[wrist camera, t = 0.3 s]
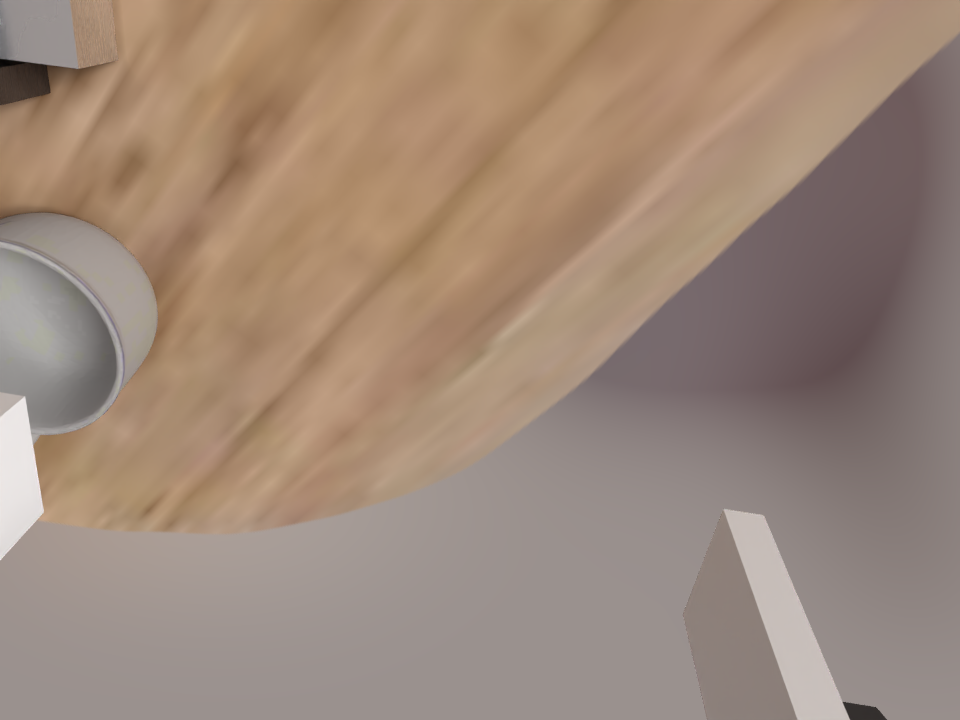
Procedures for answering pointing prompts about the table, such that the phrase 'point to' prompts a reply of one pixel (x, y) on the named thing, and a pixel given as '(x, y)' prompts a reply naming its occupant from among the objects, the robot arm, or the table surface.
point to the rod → (58, 32)
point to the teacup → (69, 319)
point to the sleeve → (22, 80)
